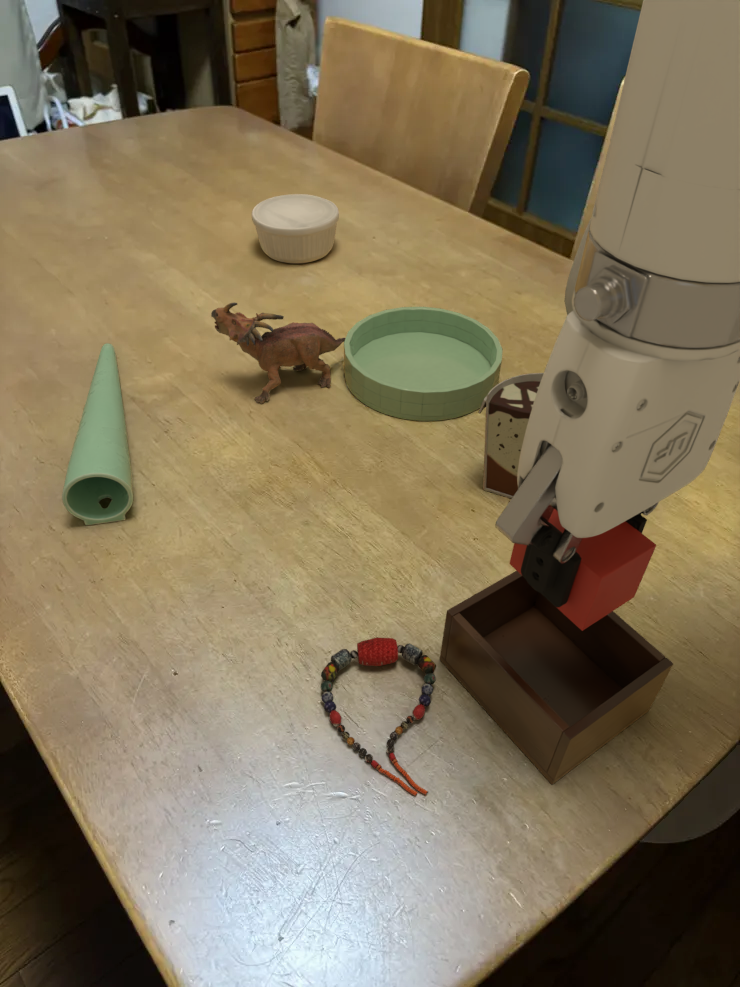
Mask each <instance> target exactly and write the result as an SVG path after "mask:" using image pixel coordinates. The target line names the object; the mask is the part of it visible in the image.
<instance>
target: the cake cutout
mask: <svg viewBox="0 0 740 987" xmlns="http://www.w3.org/2000/svg"><path fill="white" fill-rule="evenodd" d="M543 374H544V372H531V373H524V374H518V375H515V376H511V377H509V378H506V379H503V381H501V382H498V384H497V385H496V386H495V387H494V388H492V389H491V391H490V392H489V393H488V395H487V396H486V397H485V399H484V400H483V402H482V405H481V407H480V408H479V409H478V414H481V413H482V412H483V410H484V409H485V424H484V425H485V427H484V428H485V429H484V452H483V454H484V456H483V479H482V480H483V481H482V482H483V483H482V490H483V491H486V492H489V493H492V494H495V495H498V496H500V497H501V496H502V497H505V498H508V499H510V500H511V499H512V498H513V496H514V495H515V493H516V492H517V490H518V484H517V473H518V465H519V458H520V453H521V448H522V444H523V440H524V436H525V432H526V428H527V424H528V421H529V417H530V414H531V410H532V407H533V404H534V400H535V397H536V394H537V391H538V388H539V385H540V382H541V379H542V377H543Z"/></svg>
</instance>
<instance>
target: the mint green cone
mask: <svg viewBox="0 0 740 987" xmlns="http://www.w3.org/2000/svg"><path fill="white" fill-rule="evenodd" d="M116 354H117V353H116V349H115V347H114V345H113V344H112V343H108V342H106V343H104V344H103V345H102V346H101V349H100V352H99V355H98V358H97V362H96V365H95V368H94V372H93V374H92V380H91V382H90V386H89V389H88V393H87V396H86V400H85V404H84V407H83V411H82V414H81V418H80V421H79V425H78V428H77V431H76V435H75V439H74V442H73V445H72V450H71V453H70V457H69V460H68V463H67V464H68V465H67V469H66V473H65V474H66V475H65V480H64V484H63V489H62V494H61V500H62V505H63V506H64V508H65V510H67V512H68V513H70V514H71V515H72V516H73V517H75V518H77V519H80V520H81V521H83V522H84V525H85V526H93V525H100V524H107V523H115V522H119V521H121V522H122V521H126V514H127V513H128V511H129V510H130V509H131V507H132V506H133V503H134V490H133V488H134V487H133V476H132V475H133V474H132V465H131V456H130V449H129V441H128V432H127V426H126V424H127V423H126V418H125V409H124V403H123V396H122V389H121V381H120V380H121V379H120V374H119V367H118V366H119V365H118V360H117V355H116ZM103 499H110V500H111V501H110V502H109V504H108V506H107V507H105V508H103V507H102V505H101V503H100V502H101V501H102V500H103Z"/></svg>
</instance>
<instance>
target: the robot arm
mask: <svg viewBox="0 0 740 987" xmlns="http://www.w3.org/2000/svg"><path fill="white" fill-rule="evenodd" d="M623 80H624V81H623V85H622V88H621V92H620V93H621V94H620V97H619V101H618V106H617V110H616V115H615V119H614V123H613V126H612V131H611V136H610V139H609V144H608V148H607V152H606V156H605V161H604V164H603V168H602V172H601V175H600V179H599V184H598V188H597V193H596V196H595V201H594V204H593V208H592V214H591V216H592V218H591V217H590V218H591V223H590V226H589V231H588V235H587V239H586V243H585V247H584V252H583V256H582V260H581V264H580V268H579V272H578V277H577V281H576V285H575V288H574V293H573V297H572V307H573V311H572V312H570V313H569V314H568V315H567V314H566V317H565V319H564V321H563V324H562V326H561V328H560V331H559V333H558V335H557V337H556V340H555V341H554V345H553V347H552V350H551V353H550V355H549V358H548V359H547V363H546V364H545V368H544V371H543V373H544V374H543V377H542V379H541V382H540V385H539V388H538V391H537V394H536V397H535V400H534V404H533V407H532V410H531V414H530V417H529V421H528V424H527V428H526V432H525V436H524V440H523V444H522V448H521V453H520V458H519V465H518V473H517V484H518V490H517V492H516V493H515V495H514V496H513V498H512V499H511V498H510V501H509V502H508V503H507V504H506V506H505V507H504V509H503V510H502V512H501V513H500V515H499V516H498V517H497V519H496V521H495V524H494V527H495V529H497V530H498V531H499V532H500V533H501V534H502V535H503V536H504V537H505V538H507V539H508V541H510V542H511V543H513V544H514V543H516V544H523V545H527V547H526V551H525V555H524V559H523V562H522V566H521V574H522V576H523V577H524V578H525V579H526V581H527V582H528V584H529V585H530V586H531V587H532V588H533V589H535V590H536V591H537V592H539V593H541V594H542V595H543V596H544V597H545V598H547V599H548V600H549V601H550V602H551V603H552V604H553V605H554V606H555V607H561V606H562V605H564V604H566V603H567V601H568V598H569V595H570V592H571V589H572V586H573V583H574V580H575V577H576V574H577V571H578V568H579V565H580V562H581V559H582V558H581V557H580V555H579V554H578V553H577V552H576V551H577V549H578V547H579V545H580V543H581V541H582V539H583V538H588V537H593V536H596V535H600V534H602V533H604V532H606V531H608V530H610V529H612V528H614V527H616V526H618V525H619V524H621V523H623V522H625V521H626V522H627V523H628V524H630V525H631V526H632V527H634V528H635V529H637V530H638V531H639V532H641V533H642V534H643V532H644V530H645V527H646V524H647V521H648V519H647V518H645V517H644V516H648V515H650V514H651V513H652V512H653V511H654V510H656V508H657V507H658V505H659V503H660V502H661V501H663V500H664V499H667V498H668V497H670V496H671V495H674V494H675V493H676V492H679V491H680V490H681V489H683V488H685V487H687V486H688V485H689V484H691V483H692V482H694V481H695V480H696V479H697V478H698V477H699V476H700V475H701V474H702V473H703V472H704V470H705V469H706V468H707V465H708V463H709V461H710V460H711V457H712V455H713V452H714V449H715V447H716V445H717V442H718V440H719V437H720V435H721V432H722V430H723V427H724V425H725V422H726V420H727V417H728V415H729V412H730V409H731V406H732V403H733V400H734V398H735V395H736V393H737V389H738V388H739V383H740V0H642V4H641V8H640V12H639V17H638V22H637V25H636V30H635V35H634V38H633V41H632V46H631V50H630V55H629V59H628V64H627V68H626V72H625V77H624V79H623ZM554 509H556V510H557V511H558V516H559V520H560V523H561V525H562V527H564V528H565V529H564V532H563V533H562V532H561V531H559V530H558V529H557V528H556V527H555V526H553V525H552V524H551V523H549V522H548V521H549V519H550V516H551V514H552V512H553V510H554ZM643 515H644V516H643Z"/></svg>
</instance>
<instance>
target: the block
mask: <svg viewBox="0 0 740 987" xmlns="http://www.w3.org/2000/svg"><path fill="white" fill-rule="evenodd" d="M548 522H549V523H551V524H552V525H553V526H555V527H556V528H557V529H558V530H559V531H561V532H562V533H563V532H564V529H565V528H564V527H562V525H561V523H560V520H559V516H558V511H557V510H556V509H554V510H553V512H552V514H551V516H550V519H549V521H548ZM526 547H527V545H523V544H516V543H513V547H512V550H511V555H510V558H509V565H510V566H511V567H512V568H513V569H514V570H515V571H518V572H519V573H520V574H521V566H522V562H523V559H524V555H525V551H526ZM656 548H657V544H656V543H655V542H654V541H652V540H651V539H650V538H648V537H647V536H646V535H644V534H643V532H642V533H641V532H639V531H638V530H637V529H635V528H634V527H632V526H631V525H630V524H628V523H627V522H626V521H625V522H623V523H621V524H619V525H618V526H616V527H614V528H612V529H610V530H608V531H606V532H604V533H602V534H600V535H596V536H593V537H588V538H583V539H582V541H581V543H580V545H579V547H578V549H577V551H576V552H577V553H578V554H579V555H580V557H581V558H582V559H581V562H580V565H579V568H578V571H577V574H576V577H575V580H574V583H573V586H572V589H571V592H570V595H569V598H568V601H567V603H566V604H564V605H562V606H561V607H557V608H558V609H559V610H560V611H561V612H562V613H563V614H564V615H565V616H566V617H568V618H569V619H570V620H571V621H572V622H573V623H574V624H575V625H576V626H577V627H578V628H579V629H581V630H582V631H583V630H584V629H586V628H587V627H589V626H591V625H592V624H594V623H595V622H597V621H598V620H600V619H601V618H603V617H604V616H606V615H607V614H609V613H611V612H612V611H613V612H615V610H617V609H618V608H620V607H622V606H623V605H625V604H626V603H628V602H629V601H631V600H632V599H633V598H635V596H636V594H637V592H638V589H639V587H640V585H641V582H642V580H643V578H644V575H645V573H646V571H647V569H648V567H649V563H650V562H651V559H652V557H653V555H654V552H655V550H656ZM521 575H522V574H521Z"/></svg>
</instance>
